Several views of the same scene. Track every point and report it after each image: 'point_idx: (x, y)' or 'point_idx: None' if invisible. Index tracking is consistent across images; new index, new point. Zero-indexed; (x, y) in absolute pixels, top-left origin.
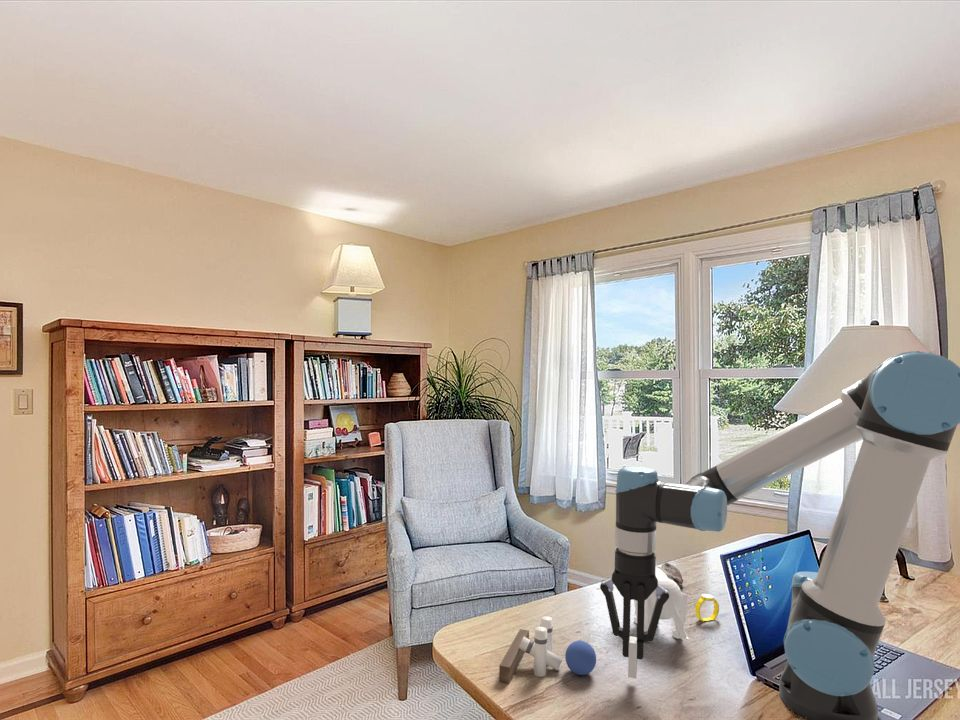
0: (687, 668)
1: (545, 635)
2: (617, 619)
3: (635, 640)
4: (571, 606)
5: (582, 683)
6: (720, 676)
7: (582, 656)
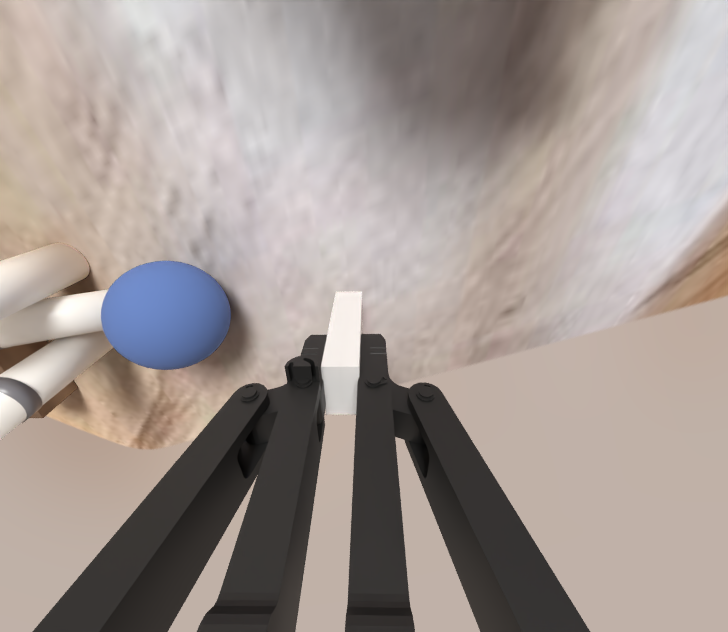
0: (559, 108)
1: (10, 427)
2: (239, 476)
3: (351, 393)
4: None
5: None
6: (680, 128)
7: (183, 367)
